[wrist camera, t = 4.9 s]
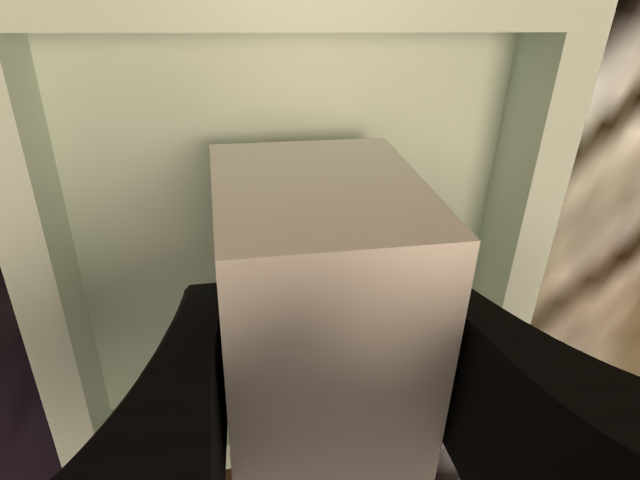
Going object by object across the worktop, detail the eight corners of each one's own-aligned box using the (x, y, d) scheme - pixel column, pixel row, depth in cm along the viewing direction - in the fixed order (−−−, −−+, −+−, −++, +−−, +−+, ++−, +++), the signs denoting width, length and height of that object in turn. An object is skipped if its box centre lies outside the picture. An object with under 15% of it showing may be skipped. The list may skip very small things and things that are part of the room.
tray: (554, -28, 13) (623, -20, 11) (468, 375, 20) (501, 429, 17) (-34, -40, 11) (-91, -33, 9) (85, 422, 17) (69, 491, 15)
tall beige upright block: (384, 137, 13) (480, 240, 8) (363, 385, 16) (422, 545, 12) (209, 144, 12) (214, 260, 8) (228, 402, 16) (240, 579, 11)
